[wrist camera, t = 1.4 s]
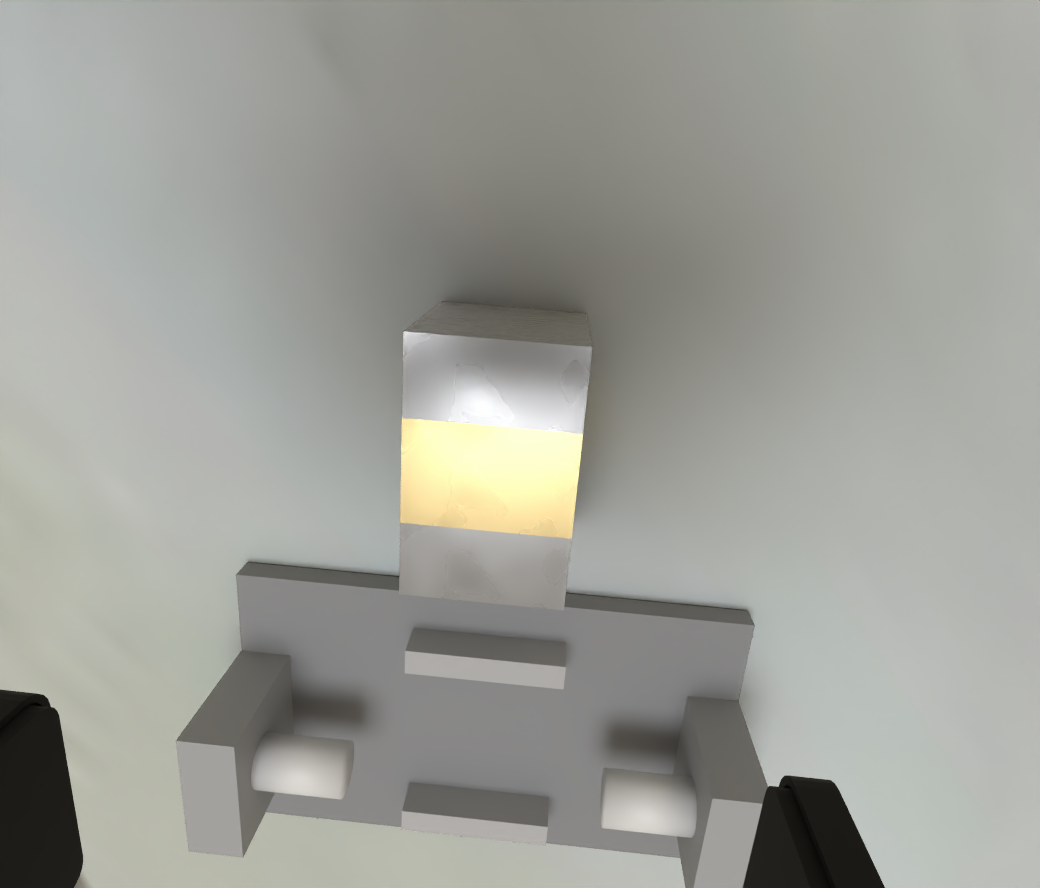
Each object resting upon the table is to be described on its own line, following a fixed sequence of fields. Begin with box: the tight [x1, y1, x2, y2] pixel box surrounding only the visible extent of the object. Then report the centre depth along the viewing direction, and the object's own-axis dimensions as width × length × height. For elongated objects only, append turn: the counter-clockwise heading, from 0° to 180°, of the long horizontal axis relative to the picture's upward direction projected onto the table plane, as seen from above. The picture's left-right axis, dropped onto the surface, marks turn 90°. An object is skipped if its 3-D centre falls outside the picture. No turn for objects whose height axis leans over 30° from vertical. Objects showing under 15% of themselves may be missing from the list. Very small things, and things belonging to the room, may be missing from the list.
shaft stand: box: [176, 562, 768, 888], centre depth 27 cm, size 20×12×6 cm, turn 86°
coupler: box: [399, 301, 592, 610], centre depth 22 cm, size 8×5×6 cm, turn 176°
